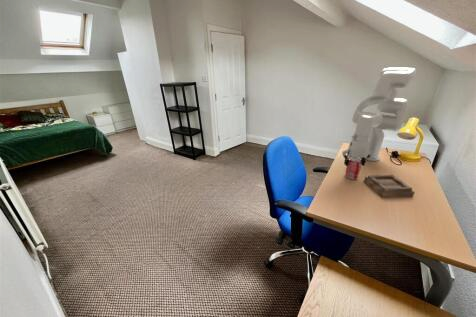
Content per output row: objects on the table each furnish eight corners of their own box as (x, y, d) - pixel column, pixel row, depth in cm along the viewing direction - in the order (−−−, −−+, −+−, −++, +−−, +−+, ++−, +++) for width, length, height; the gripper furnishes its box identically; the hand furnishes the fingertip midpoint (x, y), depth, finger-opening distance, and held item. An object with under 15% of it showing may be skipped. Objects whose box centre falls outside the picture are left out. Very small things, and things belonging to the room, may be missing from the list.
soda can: (354, 174, 125) (359, 157, 120) (359, 180, 119) (364, 162, 113) (342, 174, 126) (346, 156, 120) (347, 180, 119) (351, 162, 114)
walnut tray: (363, 181, 118) (365, 174, 116) (390, 180, 118) (392, 173, 116) (382, 197, 103) (385, 190, 101) (412, 196, 104) (415, 189, 102)
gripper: (349, 140, 107) (342, 168, 114) (381, 139, 108) (372, 167, 115) (342, 135, 114) (336, 162, 121) (372, 135, 115) (364, 161, 122)
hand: (354, 164), depth 118 cm, fingers open, 9 cm apart
